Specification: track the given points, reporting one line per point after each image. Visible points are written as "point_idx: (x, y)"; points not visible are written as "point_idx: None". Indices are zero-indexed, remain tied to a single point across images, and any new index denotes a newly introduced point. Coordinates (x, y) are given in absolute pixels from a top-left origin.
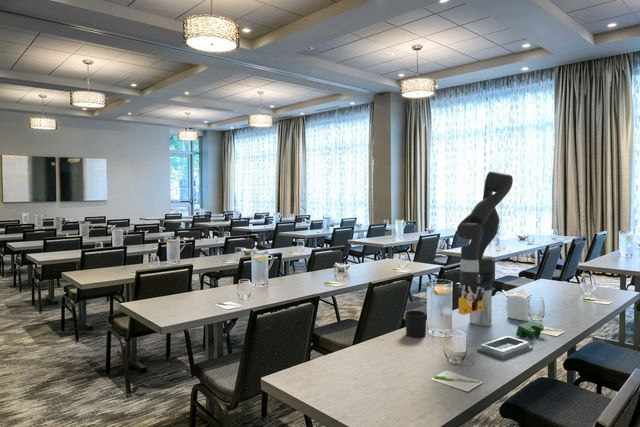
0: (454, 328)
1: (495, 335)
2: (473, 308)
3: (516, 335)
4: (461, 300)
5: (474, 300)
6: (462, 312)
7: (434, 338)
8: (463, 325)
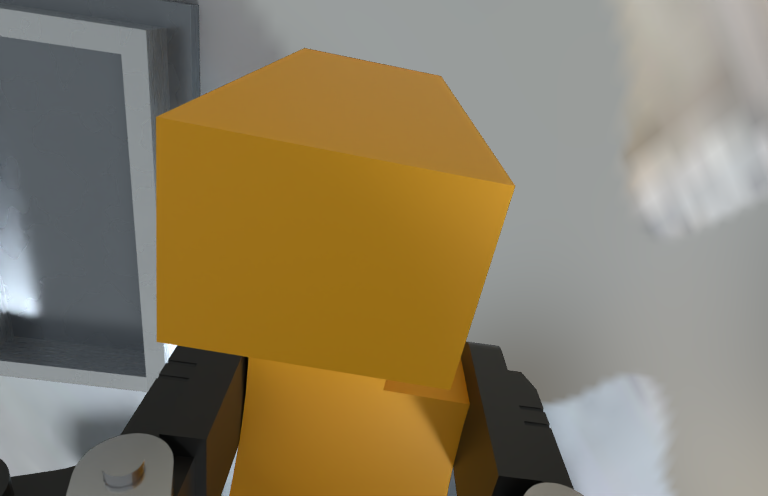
0: (636, 390)
1: None
2: None
3: None
4: (321, 123)
5: (78, 482)
6: (328, 60)
7: (693, 55)
8: (605, 475)
